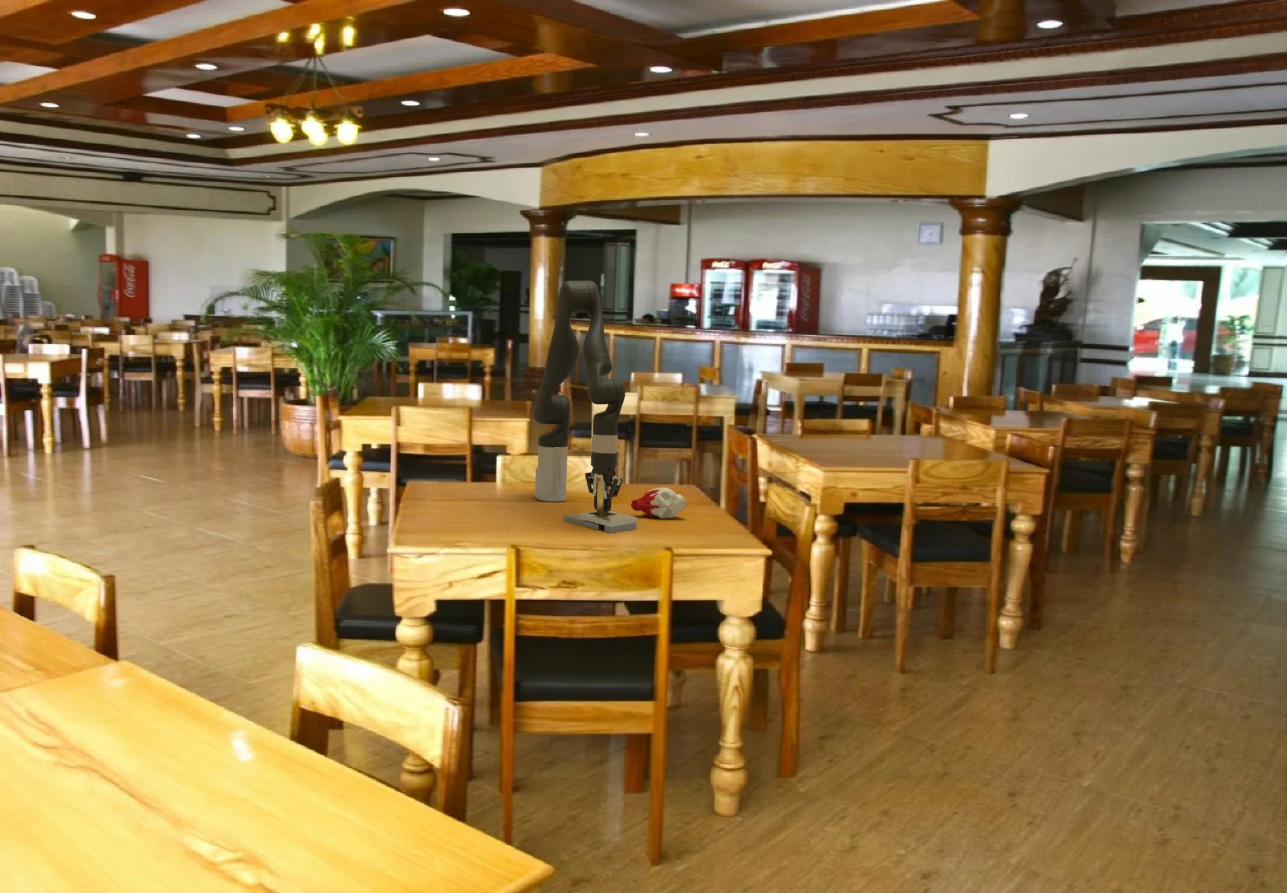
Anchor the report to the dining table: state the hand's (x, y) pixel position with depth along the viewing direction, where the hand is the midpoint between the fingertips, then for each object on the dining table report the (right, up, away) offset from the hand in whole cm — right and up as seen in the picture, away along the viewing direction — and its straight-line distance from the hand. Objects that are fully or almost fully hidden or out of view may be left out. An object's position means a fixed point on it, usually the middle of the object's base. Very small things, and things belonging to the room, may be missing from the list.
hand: (602, 509), depth 306 cm
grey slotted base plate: (0, -4, +1) cm, 4 cm away
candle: (+15, -3, +16) cm, 23 cm away
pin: (0, -3, 0) cm, 3 cm away
